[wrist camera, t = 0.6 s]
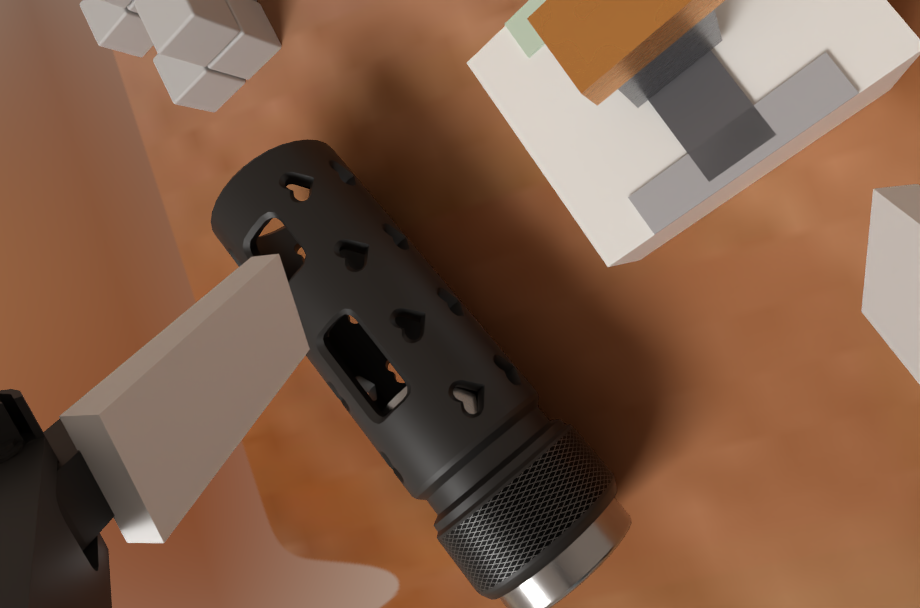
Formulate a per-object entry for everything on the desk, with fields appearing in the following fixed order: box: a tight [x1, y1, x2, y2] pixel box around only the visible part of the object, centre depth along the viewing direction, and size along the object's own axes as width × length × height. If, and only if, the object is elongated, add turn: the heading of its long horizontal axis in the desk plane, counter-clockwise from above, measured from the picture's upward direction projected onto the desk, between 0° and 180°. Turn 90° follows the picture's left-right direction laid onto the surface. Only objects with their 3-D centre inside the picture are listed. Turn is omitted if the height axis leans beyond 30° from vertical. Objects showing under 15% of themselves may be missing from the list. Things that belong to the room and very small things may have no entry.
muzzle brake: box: [211, 140, 631, 608], centre depth 37 cm, size 10×28×10 cm, turn 44°
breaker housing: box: [467, 0, 920, 267], centre depth 31 cm, size 12×14×8 cm
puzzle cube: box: [80, 0, 281, 112], centre depth 45 cm, size 12×12×8 cm
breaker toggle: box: [527, 0, 725, 108], centre depth 23 cm, size 3×6×8 cm, turn 126°
